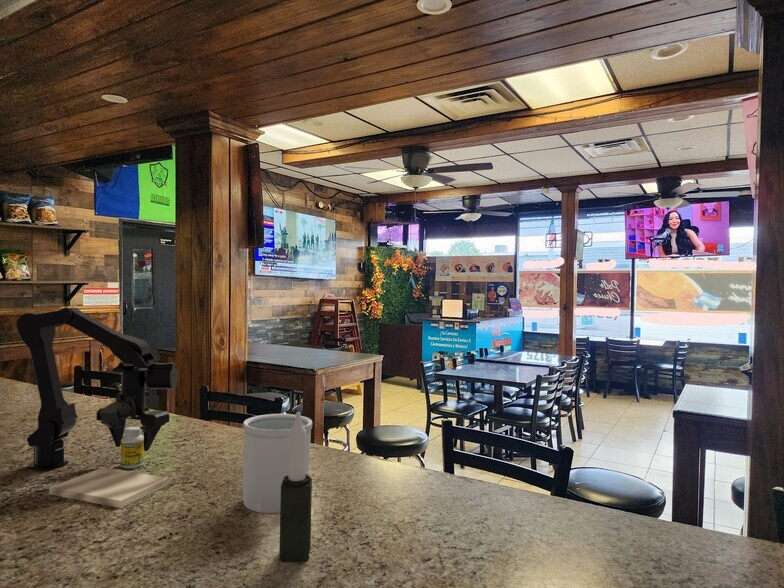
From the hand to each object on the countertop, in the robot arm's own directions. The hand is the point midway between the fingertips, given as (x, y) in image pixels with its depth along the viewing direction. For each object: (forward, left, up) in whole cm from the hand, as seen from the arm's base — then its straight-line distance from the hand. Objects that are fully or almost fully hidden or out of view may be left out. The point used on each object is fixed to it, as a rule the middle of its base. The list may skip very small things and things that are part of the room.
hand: (132, 448), depth 131 cm
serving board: (+8, -14, -4) cm, 17 cm away
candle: (+61, -25, -4) cm, 66 cm away
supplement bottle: (0, 0, -4) cm, 5 cm away
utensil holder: (+46, -6, -4) cm, 47 cm away
